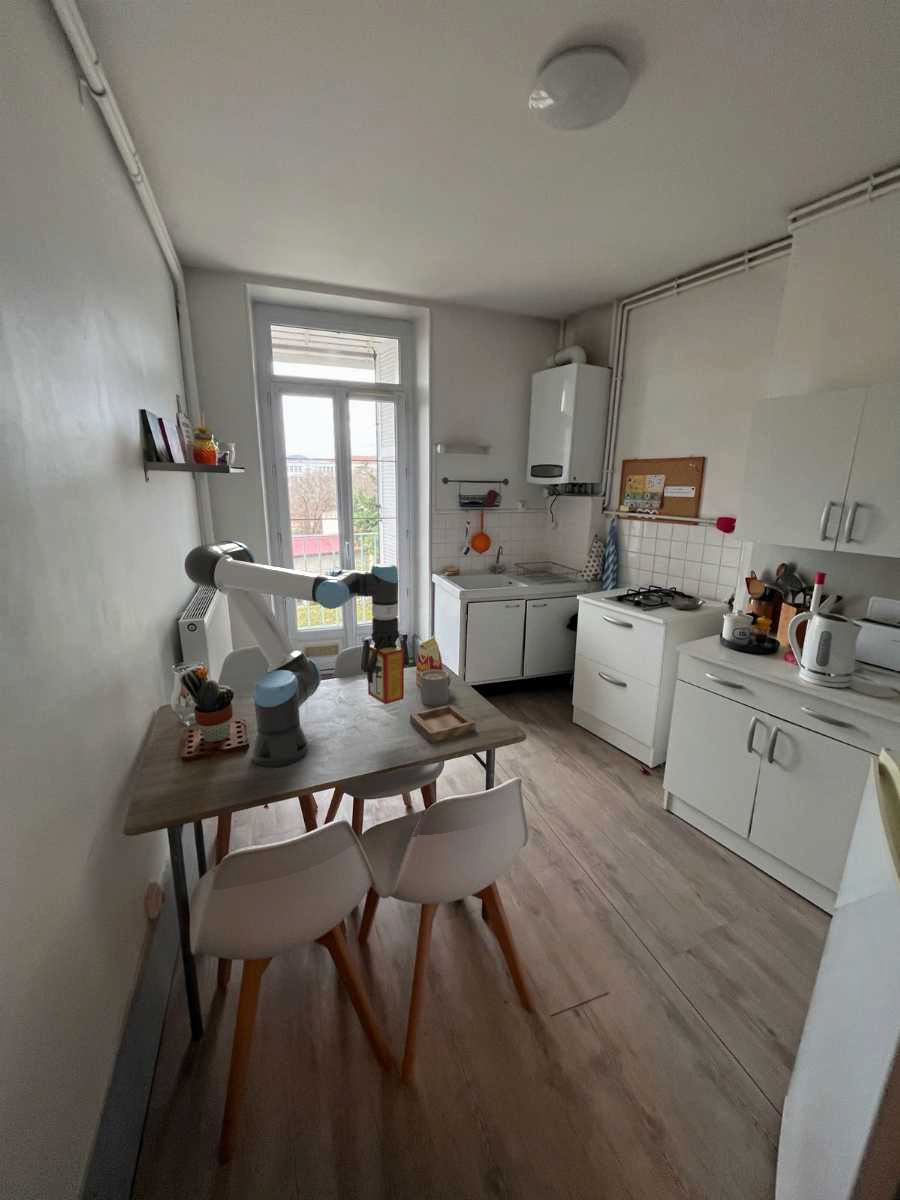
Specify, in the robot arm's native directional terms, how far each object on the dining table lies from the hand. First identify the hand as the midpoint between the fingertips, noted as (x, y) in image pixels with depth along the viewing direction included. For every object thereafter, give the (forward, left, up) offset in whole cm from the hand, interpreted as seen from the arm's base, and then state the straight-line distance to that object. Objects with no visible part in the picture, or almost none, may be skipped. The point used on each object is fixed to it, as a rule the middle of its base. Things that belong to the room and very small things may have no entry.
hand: (385, 689), depth 147 cm
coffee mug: (+27, +18, -16) cm, 36 cm away
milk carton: (+30, +31, -16) cm, 46 cm away
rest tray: (+18, -2, -16) cm, 24 cm away
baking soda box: (0, 0, -2) cm, 2 cm away
